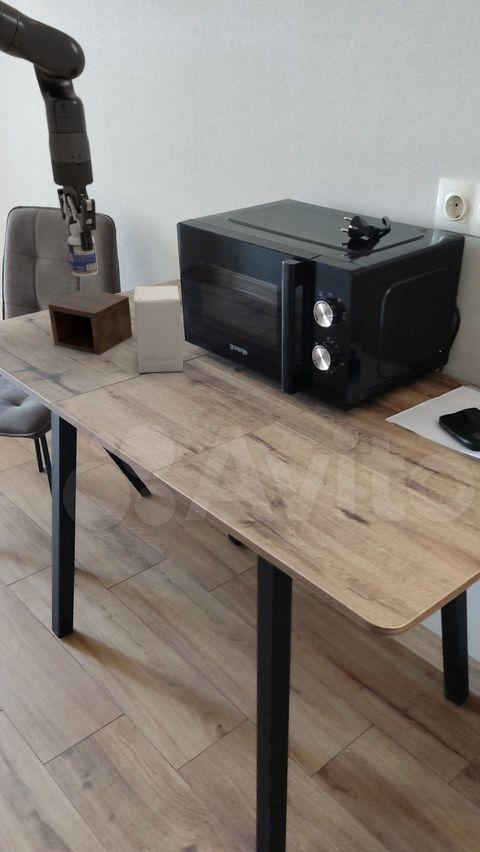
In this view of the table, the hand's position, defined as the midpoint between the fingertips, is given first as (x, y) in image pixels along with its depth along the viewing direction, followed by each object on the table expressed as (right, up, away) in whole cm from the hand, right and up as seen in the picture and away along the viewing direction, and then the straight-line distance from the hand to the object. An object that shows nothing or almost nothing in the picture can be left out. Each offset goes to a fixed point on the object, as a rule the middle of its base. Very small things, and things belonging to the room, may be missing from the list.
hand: (81, 246), depth 144 cm
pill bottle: (0, -5, +3) cm, 6 cm away
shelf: (0, -17, +11) cm, 20 cm away
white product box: (+16, -24, +1) cm, 29 cm away
